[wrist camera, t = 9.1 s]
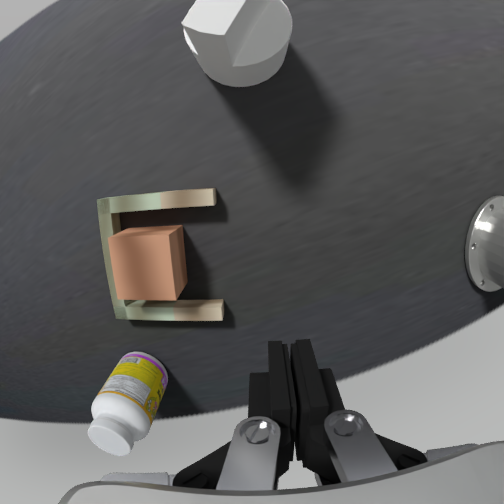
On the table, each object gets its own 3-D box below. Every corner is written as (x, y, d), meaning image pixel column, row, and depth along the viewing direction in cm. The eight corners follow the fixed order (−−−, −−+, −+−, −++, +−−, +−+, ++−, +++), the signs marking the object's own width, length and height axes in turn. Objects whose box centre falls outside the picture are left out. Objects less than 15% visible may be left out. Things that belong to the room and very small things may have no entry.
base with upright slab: (264, 100, 26) (268, 54, 15) (181, 71, 25) (140, 19, 14) (299, 31, 24) (320, -34, 13) (220, 5, 23) (203, -63, 12)
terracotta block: (182, 224, 30) (168, 234, 25) (188, 281, 31) (176, 300, 26) (129, 227, 30) (107, 237, 25) (136, 281, 31) (117, 299, 26)
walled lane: (215, 187, 28) (212, 188, 27) (224, 312, 32) (222, 320, 30) (105, 197, 29) (96, 199, 27) (122, 311, 32) (116, 318, 30)
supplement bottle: (156, 397, 35) (128, 469, 23) (114, 371, 35) (73, 436, 22) (178, 368, 34) (149, 446, 22) (132, 339, 33) (86, 408, 21)
